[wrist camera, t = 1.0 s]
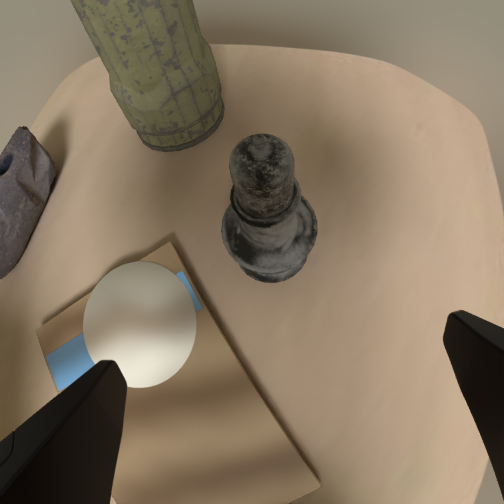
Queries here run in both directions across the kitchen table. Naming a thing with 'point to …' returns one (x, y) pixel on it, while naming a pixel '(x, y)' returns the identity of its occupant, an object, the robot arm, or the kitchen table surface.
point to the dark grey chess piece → (267, 211)
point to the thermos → (157, 68)
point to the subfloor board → (176, 392)
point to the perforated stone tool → (21, 193)
